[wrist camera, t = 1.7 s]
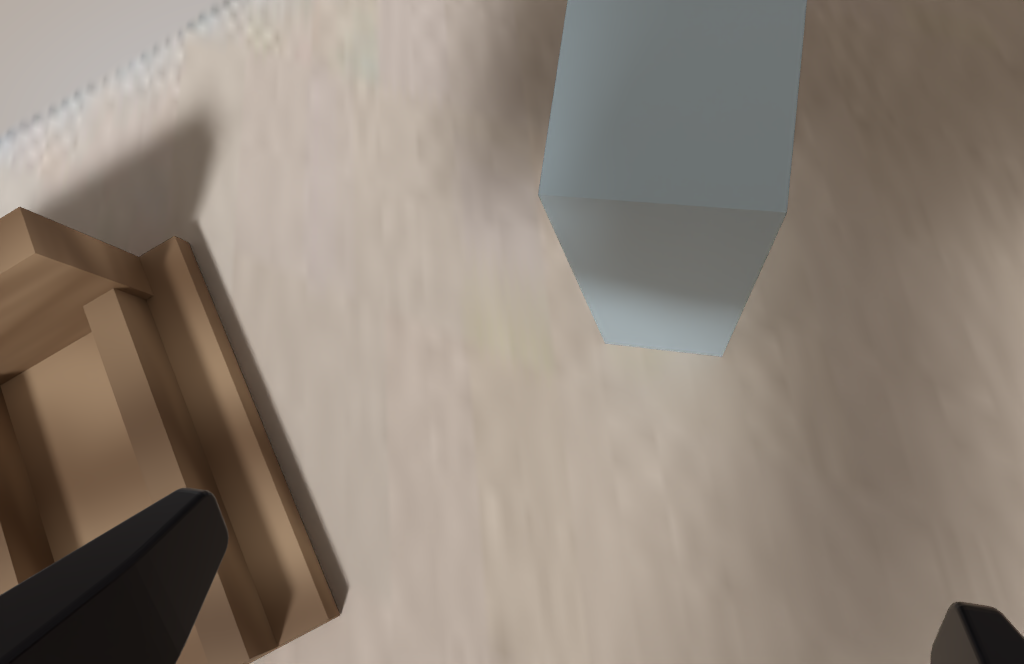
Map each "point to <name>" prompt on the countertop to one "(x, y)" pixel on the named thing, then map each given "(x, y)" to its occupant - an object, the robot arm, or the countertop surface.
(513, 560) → the countertop surface
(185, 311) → the wooden stand
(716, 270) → the pale blue block
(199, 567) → the robot arm
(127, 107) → the countertop surface
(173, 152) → the countertop surface
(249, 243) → the countertop surface
